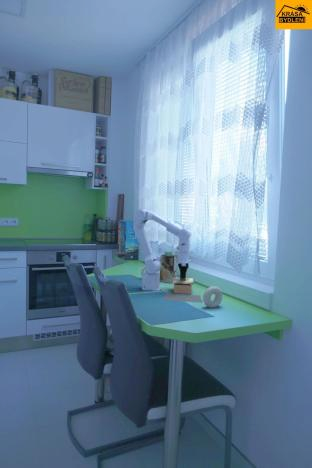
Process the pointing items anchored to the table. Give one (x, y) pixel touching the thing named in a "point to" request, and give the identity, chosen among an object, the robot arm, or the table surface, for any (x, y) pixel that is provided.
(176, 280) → the lid
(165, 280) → the coffee box
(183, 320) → the table surface
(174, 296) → the mat
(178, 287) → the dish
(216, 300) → the donut
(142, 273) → the cup
